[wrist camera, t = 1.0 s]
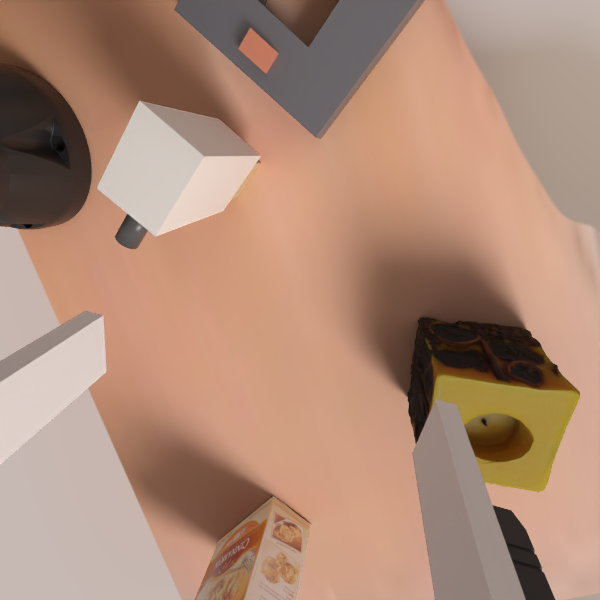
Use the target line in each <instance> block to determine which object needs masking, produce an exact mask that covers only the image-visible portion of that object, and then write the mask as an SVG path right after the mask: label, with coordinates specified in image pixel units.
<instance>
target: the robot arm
mask: <svg viewBox="0 0 600 600" xmlns="http://www.w3.org/2000/svg"><path fill="white" fill-rule="evenodd" d="M90 184H91V159H90V153H89V148H88V144H87V141H86V138H85V135H84V132H83V130H82V128H81V125H80V123H79V121H78V120H77V118H76V116H75V114H74V113H73V111H72V109H71V108H70V107H69V105H68V104H67V102H66V101H65V100H64V99H63V97H62V96H61V95H60V94H59V93H58V92H57V91H56V90H55V89H54V88H53V87H52V86H51V85H50V84H48V83H47V82H46V81H45V80H43V79H42V78H40V77H39V76H37V75H35V74H34V73H31V72H29V71H27V70H25V69H22V68H19V67H15V66H11V65H7V64H2V63H0V226H5V227H13V228H18V229H41V228H46V227H50V226H55V225H59V224H62V223H64V222H66V221H68V220H70V219H71V218H72V217H74V216H75V215H76V214H77V213H78V212H79V210H80V209H81V208H82V206H83V205H84V203H85V201H86V198H87V196H88V193H89V189H90ZM105 373H106V355H105V337H104V319H103V315H100V314H96V313H92V312H88V311H84V312H83V313H81V314H79V315H78V316H76V317H74V318H72V319H71V320H69V321H67V322H66V323H64V324H62V325H61V326H59V327H57V328H56V329H54V330H52V331H51V332H49V333H47V334H46V335H44V336H42V337H40V338H39V339H37V340H35V341H34V342H32V343H30V344H28V345H27V346H25V347H24V348H22V349H20V350H18V351H17V352H15V353H13V354H12V355H10V356H8V357H6V358H5V359H3V360H1V361H0V465H1V464H2V463H3V462H4V461H5V460H6V459H7V458H9V457H10V456H11V455H12V454H13V453H14V452H15V451H17V450H18V449H19V448H20V447H21V446H22V445H23V444H25V443H26V442H27V441H28V440H29V439H30V438H31V437H32V436H34V435H35V434H36V433H37V432H38V431H39V430H41V429H42V428H43V427H44V426H45V425H46V424H47V423H48V422H50V421H51V420H52V419H53V418H54V417H55V416H57V415H58V414H59V413H60V412H61V411H62V410H63V409H65V408H66V407H67V406H68V405H69V404H70V403H71V402H73V401H74V400H75V399H76V398H77V397H78V396H79V395H81V394H82V393H83V392H84V391H85V390H86V389H87V388H89V387H90V386H91V385H92V384H93V383H94V382H95V381H97V380H98V379H99V378H100V377H101V376H102V375H103V374H105ZM412 454H413V460H414V467H415V473H416V480H417V486H418V493H419V499H420V506H421V512H422V519H423V525H424V532H425V538H426V544H427V551H428V557H429V564H430V570H431V577H432V583H433V590H434V596H435V600H555V598H554V596H553V593H552V591H551V589H550V586H549V584H548V581H547V579H546V577H545V574H544V572H542V570H541V569H542V567H541V565H540V562H539V560H538V558H537V555H535V554H534V551H535V550H534V548H533V546H532V543H531V541H530V539H529V536H528V534H527V531H526V529H525V528H524V527H523V525H522V524H521V523H520V521H519V520H518V519H517V517H516V516H515V515H514V513H513V512H512V511H511V510H507V509H504V508H500V507H496V506H493V505H492V503H491V500H490V497H489V494H488V492H487V489H486V486H485V483H484V480H483V478H482V475H481V472H480V469H479V466H478V463H477V461H476V458H475V455H474V452H473V449H472V447H471V444H470V441H469V438H468V435H467V432H466V430H465V427H464V424H463V421H462V418H461V415H460V413H459V410H458V407H457V405H456V404H452V403H448V402H444V401H440V400H435V402H434V405H433V407H432V409H431V411H430V414H429V416H428V418H427V421H426V423H425V425H424V428H423V430H422V432H421V434H420V437H419V439H418V441H417V444H416V446H415V448H414V451H413V453H412Z"/></svg>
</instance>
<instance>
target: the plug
mask: <svg viewBox="0 0 600 600" xmlns="http://www.w3.org/2000/svg"><path fill="white" fill-rule="evenodd" d="M260 157H261V155H260V154H258V153H257V152H256V151H255V150H254V149H253V148H252V147H250V146H249V145H248V144H247V143H246V142H245V141H244V140H243V139H241V138H240V137H239V136H238V135H237V134H236V133H235V132H233V131H232V130H231V129H230V128H229V127H228V126H227V125H225V124H224V123H223V122H222V121H221V120H220V119H218V118H213V117H209V116H205V115H200V114H196V113H191V112H187V111H183V110H178V109H174V108H170V107H165V106H161V105H157V104H152V103H148V102H143V101H139V103H138V105H137V107H136V109H135V111H134V113H133V115H132V117H131V119H130V121H129V123H128V125H127V127H126V129H125V131H124V133H123V135H122V137H121V140H120V142H119V144H118V146H117V148H116V150H115V152H114V154H113V156H112V158H111V160H110V162H109V164H108V166H107V168H106V170H105V172H104V174H103V176H102V178H101V180H100V183H99V185H98V187H97V189H98V190H99V191H101V192H102V193H103V194H104V195H105V196H107V197H108V198H109V199H110V200H112V201H113V202H114V203H115V204H116V205H118V206H119V207H120V208H121V209H123V210H124V211H125V212H126V213H127V216H126V217H125V219H124V221H123V223H122V225H121V226H120V228H119V230H118V232H117V234H116V236H115V238H116V240H117V241H118V242H119V243H120V244H121V245H123V246H124V247H127V248H130V249H136V248H138V246H139V245H140V243H141V241H142V240H143V238H144V236H145V235H146V233H147V231H149V232H151V233H152V234H153V235H154V236H158V235H161V234H163V233H166V232H169V231H171V230H174V229H177V228H180V227H182V226H185V225H188V224H190V223H193V222H196V221H198V220H201V219H204V218H206V217H209V216H212V215H214V214H217V213H220V212H222V211H224V209H225V208H226V206H227V205H228V203H229V202H230V200H231V199H234V198H237V197H238V195H239V194H240V192H241V191H242V190H243V188H244V187H245V185H246V184H247V182H248V181H249V179H250V178H251V177H252V175H253V174H254V172H255V171H256V169H257V168H258V166H259V165H260V164H261V163H260V162H259V161H258V160H259V158H260Z"/></svg>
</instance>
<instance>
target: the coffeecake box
mask: <svg viewBox="0 0 600 600" xmlns="http://www.w3.org/2000/svg"><path fill="white" fill-rule="evenodd" d="M310 528H311V524H310V523H309V522H307V521H306V520H305V519H303V518H302V517H300V516H299V515H298V514H296V513H295V512H294V511H292V510H291V509H290V508H289V507H288V506H287V505H285V504H284V503H283V502H281V501H280V500H278V499H277V498H276V497H274V496H273V497H272V498H270V499H269V500H268V501H267V502H265V503H264V504H263V505H262V506H260V507H259V508H258V509H257V510H256V511H254V512H253V513H252V514H251V515H249V516H248V517H247V518H246V519H245V520H243V521H242V522H241V523H240V524H238V525H237V526H236V527H235V528H234V529H232V530H231V531H230V532H229V533H227V534H226V535H225V536H224V537H223V538H221V539H220V540H219V541H218V544H217V546H216V549H215V551H214V554H213V556H212V559H211V561H210V564H209V566H208V569H207V571H206V574H205V576H204V579H203V581H202V583H201V586H200V588H199V591H198V593H197V596H196V598H195V600H298V594H299V589H300V583H301V578H302V572H303V566H304V561H305V555H306V549H307V543H308V538H309V533H310Z"/></svg>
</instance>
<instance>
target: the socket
mask: <svg viewBox="0 0 600 600" xmlns="http://www.w3.org/2000/svg"><path fill="white" fill-rule="evenodd" d="M266 1H267V0H179V1H178V3H177V5H176V7H175V9H174V10H175V11H176V12H178V13H179V14H180V15H181V16H182V17H183V18H184V19H185V20H186V21H188V22H189V23H190V24H191V25H192V26H193V27H194V28H195V29H196V30H198V31H199V32H200V33H201V34H202V35H203V36H204V37H205V38H206V39H207V40H209V41H210V42H211V43H212V44H213V45H214V46H215V47H216V48H217V49H219V50H220V51H221V52H222V53H223V54H224V55H225V56H226V57H227V58H229V59H230V60H231V61H232V62H233V63H234V64H235V65H236V66H237V67H238V68H240V69H241V70H242V71H243V72H244V73H245V74H246V75H247V76H248V77H250V78H251V79H252V80H253V81H254V82H255V83H256V84H257V85H258V86H260V87H261V88H262V89H263V90H264V91H265V92H266V93H267V94H268V95H269V96H271V97H272V98H273V99H274V100H275V101H276V102H277V103H278V104H279V105H281V106H282V107H283V108H284V109H285V110H286V111H287V112H288V113H289V114H291V115H292V116H293V117H294V118H295V119H296V120H297V121H298V122H299V123H300V124H302V125H303V126H304V127H305V128H306V129H307V130H308V131H309V132H310V133H312V134H313V135H314V136H315V137H317V138H320V139H321V138H322V136H323V135H324V134H325V132H326V131H327V130H328V128H329V127H330V126H331V124H332V123H333V122H334V120H335V119H336V118H337V116H338V115H339V114H340V112H341V111H342V110H343V108H344V107H345V106H346V104H347V103H348V102H349V100H350V99H351V98H352V96H353V95H354V94H355V92H356V91H357V90H358V88H359V87H360V86H361V84H362V83H363V82H364V80H365V79H366V78H367V76H368V75H369V74H370V72H371V71H372V70H373V68H374V67H375V66H376V64H377V63H378V62H379V60H380V59H381V58H382V56H383V55H384V54H385V52H386V51H387V50H388V48H389V47H390V46H391V44H392V43H393V42H394V40H395V39H396V38H397V36H398V35H399V34H400V32H401V31H402V30H403V28H404V27H405V26H406V24H407V23H408V22H409V20H410V19H411V18H412V16H413V15H414V14H415V12H416V11H417V10H418V8H419V7H420V6H421V4H422V3H423V2H424V0H339V2H338V3H337V5H336V6H335V8H334V9H333V11H332V12H331V14H330V15H329V17H328V19H327V20H326V22H325V23H324V25H323V26H322V28H321V29H320V31H319V32H318V34H317V35H316V37H315V38H314V40H313V41H312V43H311V44H310V46H309V47H307V46H306V45H305V44H304V43H303V42H302V41H301V40H300V39H299V38H298V37H297V36H296V35H295V34H294V33H292V32H291V31H290V30H289V29H288V28H287V27H286V26H285V25H284V24H283V23H282V22H281V21H280V20H279V19H277V18H276V17H275V16H274V15H273V14H272V13H271V12H270V11H269V10H268V9H267V8H266V7H265V6H264V4H265V3H266Z"/></svg>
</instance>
